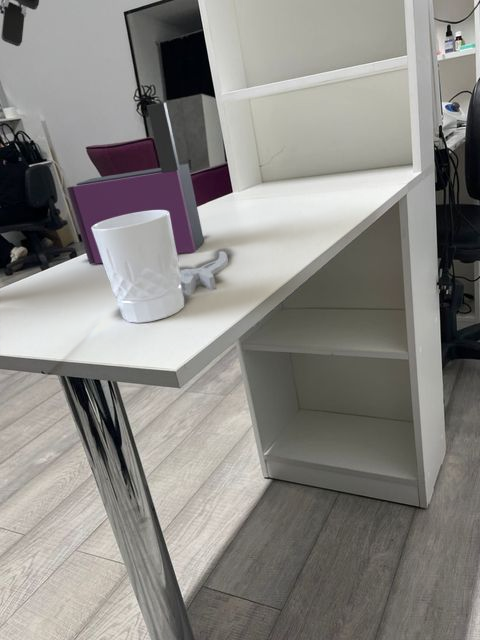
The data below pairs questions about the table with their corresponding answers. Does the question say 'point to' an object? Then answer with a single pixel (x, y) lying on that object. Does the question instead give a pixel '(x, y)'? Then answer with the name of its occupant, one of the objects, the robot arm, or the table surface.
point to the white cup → (141, 264)
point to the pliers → (203, 274)
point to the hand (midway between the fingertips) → (18, 24)
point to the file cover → (137, 193)
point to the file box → (187, 193)
